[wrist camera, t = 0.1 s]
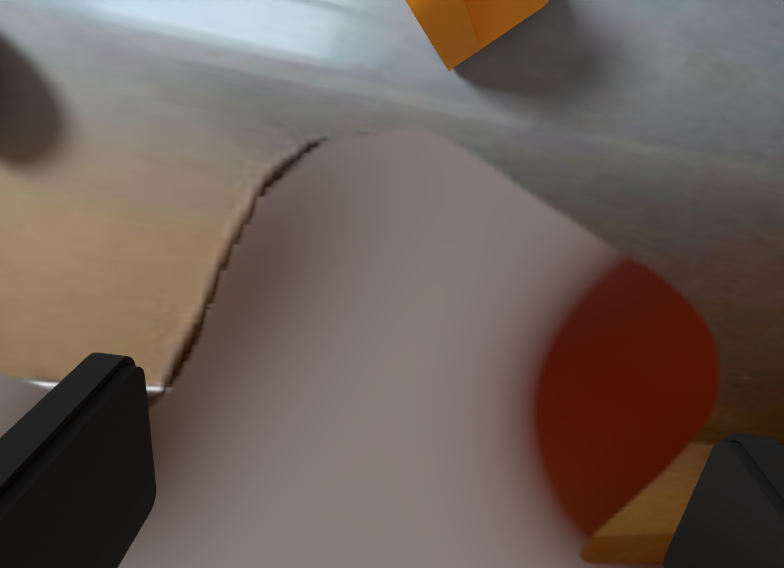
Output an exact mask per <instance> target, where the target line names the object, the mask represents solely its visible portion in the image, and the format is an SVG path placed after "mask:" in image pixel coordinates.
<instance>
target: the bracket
mask: <svg viewBox="0 0 784 568" xmlns="http://www.w3.org/2000/svg"><path fill="white" fill-rule="evenodd" d="M548 1H549V0H406V2H407V4H408V5H409V7H410V9H411V10H412V12H413V14H414V15H415V17H416V19H417V20H418V22H419V24H420V25H421V27H422V29H423V30H424V32H425V33H426V35H427V37H428V38H429V40H430V41H431V43H432V45H433V46H434V48H435V50H436V51H437V53H438V54H439V56H440V58H441V59H442V61H443V63H444V64H445V66H446V67H447V69H448V71H450V70H451V69H453V68H454V67H456V66H457V65H459V64H460V63H462V62H463V61H465V60H466V59H467V58H469V57H470V56H472V55H473V54H475V53H476V52H478V51H479V50H481V49H482V48H484V47H485V46H487V45H488V44H489V43H491V42H492V41H494V40H495V39H497V38H498V37H500V36H501V35H503V34H504V33H506V32H507V31H509V30H510V29H511V28H513V27H514V26H516V25H517V24H519V23H520V22H522V21H523V20H525V19H526V18H528V17H529V16H531V15H532V14H533V13H535V12H536V11H538V10H539V9H541V8H542V7H544V6H545V5H546V4H547V3H548Z"/></svg>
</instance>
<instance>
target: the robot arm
mask: <svg viewBox="0 0 784 568" xmlns="http://www.w3.org/2000/svg"><path fill="white" fill-rule="evenodd" d="M155 496H156V482H155V472H154V462H153V453H152V442H151V433H150V423H149V413H148V403H147V393H146V383H145V374H144V371H143V369H142V368H141V367H136V366H135V362H134V360H133V359H132V358H131V357H128V356H121V355H113V354H105V353H92V354H90V355H89V356H88V357H86V358H85V359H84V360H83V361H82V362H81V363H80V364H79V365H78V366H77V367H76V368H75V369H74V370H73V371H71V372H70V373H69V374H68V375H67V376H66V377H65V378H64V379H63V380H62V381H61V382H60V383H59V384H58V385H56V386H55V387H54V388H53V389H52V390H51V391H50V392H49V393H48V394H47V395H46V396H45V397H44V398H43V399H42V400H40V401H39V402H38V403H37V404H36V405H35V406H34V407H33V408H32V409H31V410H30V411H29V412H28V413H27V414H26V415H24V416H23V417H22V418H21V419H20V420H19V421H18V422H17V423H16V424H15V425H14V426H13V427H12V428H11V429H9V430H8V431H7V432H6V433H5V434H4V435H3V436H2V437H1V438H0V568H118V566H119V564H120V562H121V561H122V559H123V558H124V556H125V554H126V552H127V551H128V549H129V547H130V546H131V544H132V542H133V541H134V539H135V537H136V536H137V534H138V532H139V530H140V529H141V527H142V525H143V524H144V522H145V520H146V519H147V517H148V515H149V513H150V511H151V509H152V507H153V504H154V501H155ZM664 568H784V449H783V448H782V446H781V445H780V444H779V443H778V442H777V441H775V440H774V439H771V438H768V437H760V436H752V435H744V434H736V433H735V434H730V435H729V436H727V437H726V438H725V440H724V441H718V442H717V443H716V444H715V445H714V447H713V449H712V451H711V453H710V455H709V458H708V460H707V462H706V464H705V467H704V469H703V471H702V473H701V476H700V478H699V480H698V482H697V485H696V487H695V489H694V491H693V494H692V496H691V498H690V500H689V503H688V505H687V507H686V509H685V512H684V514H683V516H682V518H681V521H680V523H679V525H678V527H677V530H676V532H675V534H674V536H673V539H672V541H671V543H670V545H669V548H668V550H667V552H666V554H665V558H664Z"/></svg>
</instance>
